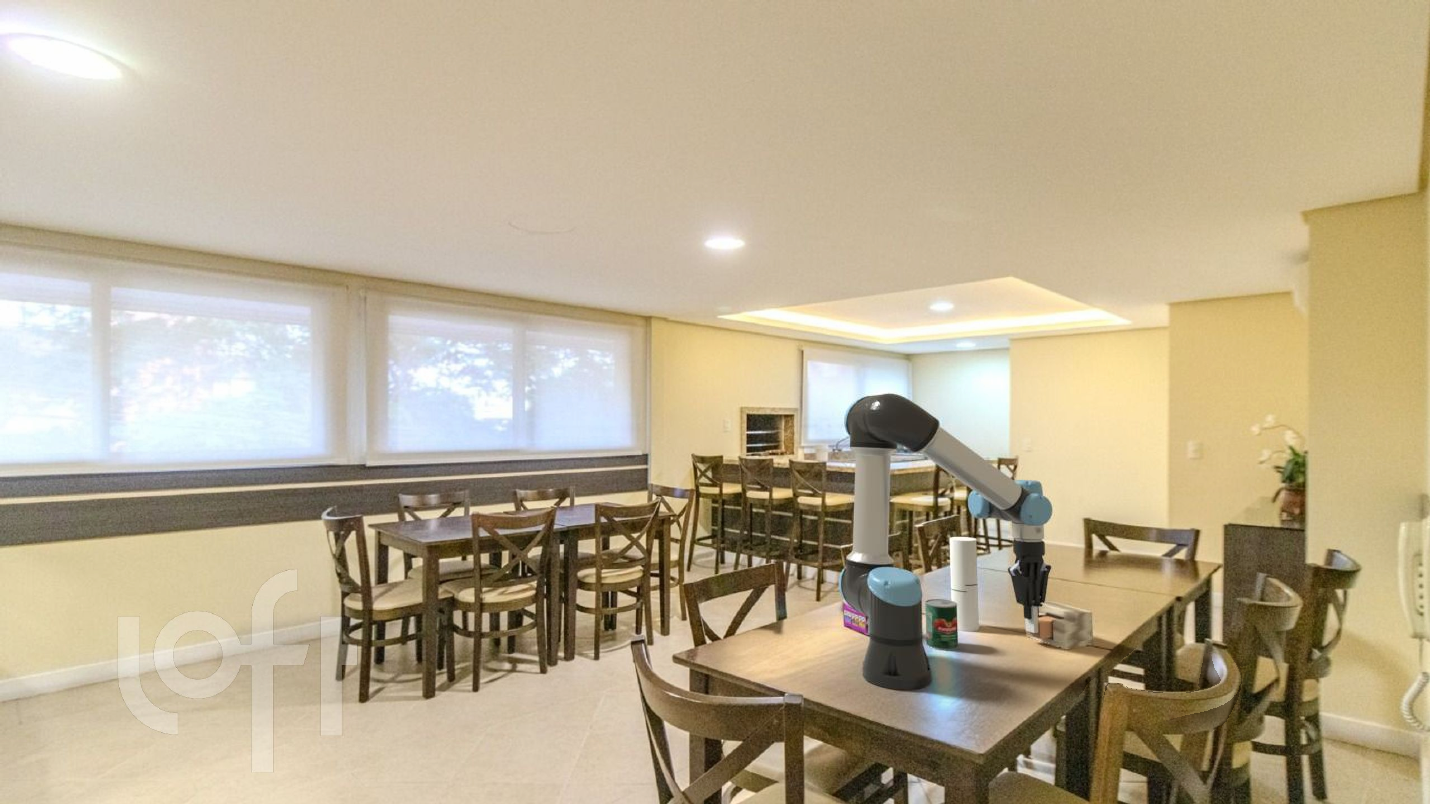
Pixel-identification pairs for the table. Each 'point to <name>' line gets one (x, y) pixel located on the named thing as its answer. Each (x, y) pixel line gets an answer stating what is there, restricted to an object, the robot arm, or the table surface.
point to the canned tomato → (941, 624)
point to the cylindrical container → (964, 582)
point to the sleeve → (1067, 625)
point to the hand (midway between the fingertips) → (1031, 631)
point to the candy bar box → (855, 619)
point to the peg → (1044, 627)
